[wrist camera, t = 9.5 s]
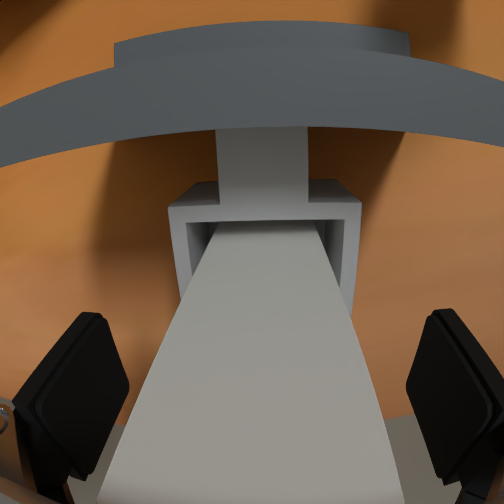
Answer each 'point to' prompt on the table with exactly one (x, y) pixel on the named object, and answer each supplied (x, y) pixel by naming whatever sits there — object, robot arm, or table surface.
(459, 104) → the bracket
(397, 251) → the table surface
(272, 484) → the rail
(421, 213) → the table surface
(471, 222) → the table surface
